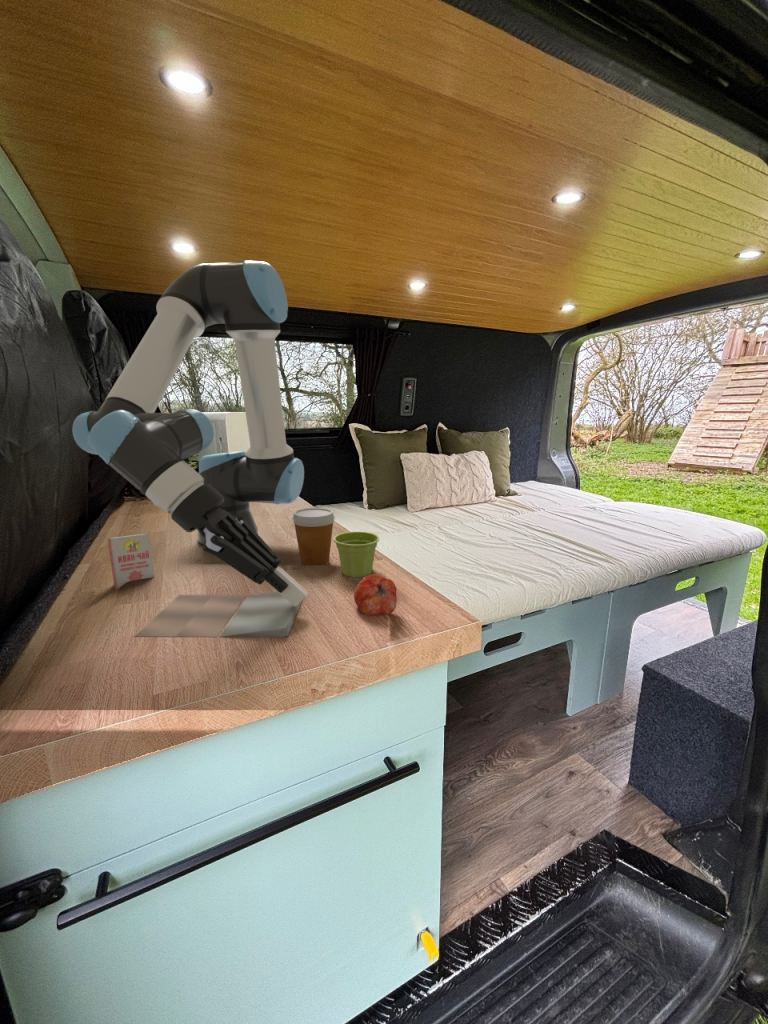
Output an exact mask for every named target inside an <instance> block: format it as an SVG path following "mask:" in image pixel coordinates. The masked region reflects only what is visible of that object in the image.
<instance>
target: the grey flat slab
mask: <svg viewBox="0 0 768 1024" xmlns="http://www.w3.org/2000/svg"><path fill="white" fill-rule="evenodd" d="M302 602H303V600H302V601H301V602H300V603H299V604H298V605H297V606H296V607H295V606H294V605H292V604H291V603H290V602H289V601H288V600H287V599H286V598H284V597H283V596H282V595H281V594H280V593H279V592H278V591H277V590H275V591H269V592H268V591H267V592H261V593H254V594H249V595H247V597H245V598H244V600H243V601H242V603H241V604H240V606H239V607H238V608H237V610H236V611H235V613H234V614H233V615H232V616H233V617H231V618H230V620H229V621H228V624H226V625H225V626H226V627H224V628H223V631H221V633H220V635H219V638H283V637H284V638H285V637H289V634H290V632H291V628H292V627H293V624H294V622H295V619H296V617H297V615H298V613H299V609H300V607H301V604H302Z"/></svg>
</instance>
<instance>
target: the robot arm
mask: <svg viewBox="0 0 768 1024" xmlns="http://www.w3.org/2000/svg"><path fill="white" fill-rule="evenodd" d="M288 305H289V304H288V299H287V294H286V290H285V286H284V283H283V281H282V279H281V277H280V275H279V274H278V272H277V270H276V269H275V268H274V267H273V266H272V265H271V264H270V263H268V262H266V261H262V260H261V261H260V260H259V261H258V260H246V259H245V260H243V261H242V260H241V261H240V260H239V261H229V262H227V261H225V262H214V263H209V262H208V263H207V262H206V263H200V264H197V265H194V266H192V267H190V268H188V269H187V270H185V271H184V272H183V273H181V274H180V275H179V276H178V277H176V278H175V279H174V280H173V281H172V282H171V283H170V285H169V286H168V287H167V288H166V289H165V290H164V292H163V293H162V295H161V296H160V298H159V299H158V301H157V303H156V307H155V308H156V313H157V314H156V315H155V317H154V319H153V320H152V322H151V324H150V326H149V327H148V328H147V330H146V332H145V334H144V335H143V337H142V339H141V341H140V342H139V344H138V345H137V347H136V348H135V350H134V352H133V353H132V354H131V357H130V358H129V359H128V362H127V363H126V365H125V366H124V367H123V370H122V371H121V373H120V374H119V377H118V378H117V380H116V381H115V383H114V385H113V386H112V388H111V390H110V391H109V393H108V394H107V396H106V398H105V399H104V401H103V403H102V404H101V406H99V408H98V410H90V411H87V412H83V413H81V414H78V415H77V416H76V418H75V419H74V421H73V423H72V429H71V430H72V437H73V439H74V441H75V443H76V445H78V447H79V448H81V450H83V451H84V452H87V453H88V454H92V455H98V456H99V458H101V459H102V460H103V461H104V463H105V464H106V465H108V466H110V467H111V468H112V469H113V470H114V471H115V472H117V473H118V474H119V475H121V477H123V479H125V480H126V481H128V482H129V483H130V484H131V485H133V487H135V488H136V489H137V490H138V491H140V492H141V493H142V494H143V495H144V496H145V497H147V498H148V499H149V500H150V501H151V502H152V504H153V506H155V507H158V508H159V509H160V510H161V511H163V513H165V514H171V515H170V516H171V520H173V521H174V522H175V523H176V524H177V525H178V526H179V527H180V528H182V529H183V530H184V531H185V532H187V533H192V532H194V531H198V533H197V535H198V542H199V543H200V544H201V545H203V546H202V550H203V551H204V552H205V553H207V554H209V555H212V556H215V557H216V558H218V559H220V560H221V561H223V563H225V564H227V565H228V566H230V567H232V568H233V569H235V571H238V572H239V573H240V574H242V575H244V576H245V577H246V578H248V579H249V580H251V581H252V582H253V583H255V584H258V585H262V584H263V583H264V582H266V583H268V584H269V585H270V586H271V587H272V588H273V589H274V590H275V591H278V592H279V593H280V594H281V595H282V596H283V597H284V598H286V599H287V600H288V601H289V602H290V603H291V604H292V605H294V606H295V607H296V606H297V605H298V604H299V603H300V602H301V601H302V602H303V600H305V598H306V597H308V593H309V592H308V590H306V589H305V588H304V587H303V586H302V585H301V584H300V583H298V582H297V581H296V579H294V578H293V577H292V576H291V575H289V574H288V573H287V572H286V571H285V569H283V568H282V567H281V566H279V565H280V564H281V563H282V559H281V558H279V556H278V555H277V553H276V552H274V550H273V549H272V548H271V547H270V546H269V545H268V544H267V542H265V541H264V539H263V538H262V537H261V536H260V535H259V529H258V525H257V523H256V521H255V517H254V515H253V514H252V511H251V509H250V503H262V504H275V505H281V504H282V505H283V504H292V503H294V502H296V501H297V499H298V497H299V496H300V494H301V493H302V489H303V486H304V485H303V484H304V479H305V468H304V467H305V466H304V463H303V461H302V460H301V459H299V458H298V457H295V456H294V449H293V448H292V447H291V446H290V445H288V444H287V439H286V437H287V436H286V430H285V429H286V428H285V421H284V413H283V404H282V395H281V394H282V393H281V388H280V387H281V386H280V376H279V368H278V360H277V350H276V342H275V341H276V338H277V337H278V336H279V334H280V333H281V325H280V324H281V323H284V322H285V321H286V320H287V318H288V312H289V306H288ZM217 324H220V325H221V324H224V325H225V332H226V334H228V335H229V337H231V338H232V339H233V340H234V343H235V344H234V345H235V351H236V357H237V366H238V370H239V371H238V372H239V377H240V378H239V379H240V384H241V392H242V397H243V404H244V411H245V417H246V418H245V419H246V424H247V425H246V426H247V431H248V438H249V444H250V445H249V448H247V450H246V451H245V450H237V451H229V452H221V453H213V454H206V455H203V456H201V457H200V458H199V460H198V471H196V469H194V468H193V467H192V465H190V464H189V463H187V462H186V461H185V460H186V459H187V458H190V457H192V456H195V455H198V454H200V453H201V452H202V451H203V450H205V449H207V448H209V446H210V445H211V444H212V442H213V440H214V435H215V432H214V428H213V425H212V424H213V423H212V422H211V420H210V419H209V418H208V417H207V415H205V414H204V412H202V411H200V410H197V409H193V408H187V409H178V410H176V411H175V412H156V410H157V408H158V406H159V405H160V402H161V401H162V399H163V397H164V394H165V393H166V391H167V389H168V387H169V386H170V383H171V382H172V380H173V378H174V376H175V375H176V373H177V371H178V369H179V367H180V365H181V363H182V361H183V359H184V357H185V356H186V354H187V352H188V351H189V348H190V346H191V345H192V343H193V341H194V339H195V338H196V339H197V338H199V337H200V336H202V335H203V333H204V332H205V330H206V328H207V327H209V326H213V325H217ZM302 602H301V603H302Z"/></svg>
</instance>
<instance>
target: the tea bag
mask: <svg viewBox="0 0 768 1024" xmlns="http://www.w3.org/2000/svg"><path fill="white" fill-rule="evenodd" d="M150 541H151V540H150V535H149V533H140V534H134V535H133V534H132V535H125V536H118V537H117V536H116V537H115V536H114V537H108V538H107V543H108V544H107V545H108V551H109V558H110V559H109V560H110V566H111V572H112V578H113V584H114V590H115V591H117V590H118V589H120V588H121V587H123V586H124V585H125V584H126V583H128V582H132V581H138V580H144V579H149V578H155V571H154V561H153V553H152V547H151V542H150Z"/></svg>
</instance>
